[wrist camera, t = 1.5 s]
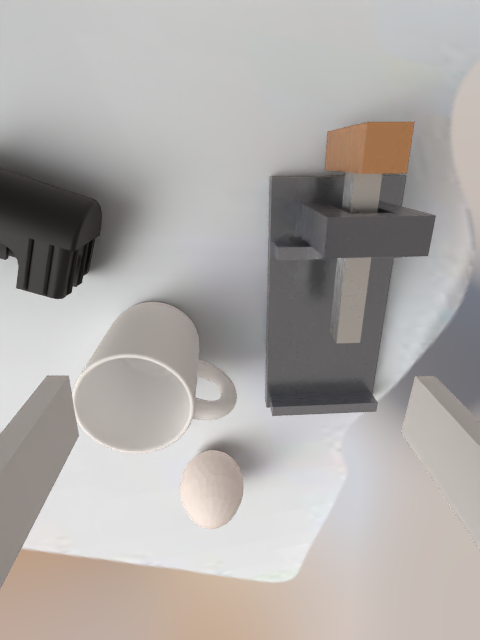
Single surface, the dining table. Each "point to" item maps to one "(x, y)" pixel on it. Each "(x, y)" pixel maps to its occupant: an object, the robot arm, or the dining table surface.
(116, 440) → the mug
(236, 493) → the egg
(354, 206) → the lever
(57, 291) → the end cap
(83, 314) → the dining table surface
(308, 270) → the dock
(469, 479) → the robot arm
